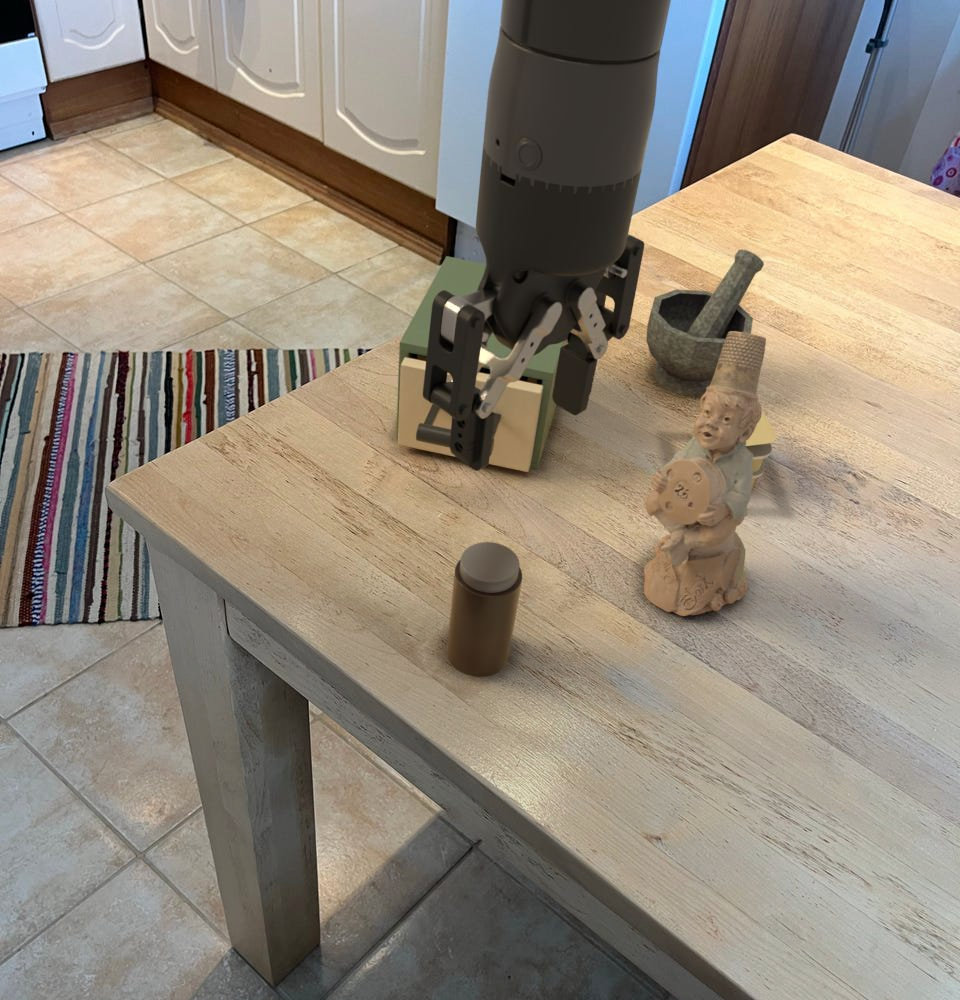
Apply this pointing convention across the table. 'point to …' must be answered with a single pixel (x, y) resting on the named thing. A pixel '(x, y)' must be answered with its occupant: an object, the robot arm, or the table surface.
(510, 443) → the drawer
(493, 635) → the pepper mill
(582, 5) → the robot arm
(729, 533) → the figurine
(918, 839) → the table surface
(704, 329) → the mortar and pestle
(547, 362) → the cabinet
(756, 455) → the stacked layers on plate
